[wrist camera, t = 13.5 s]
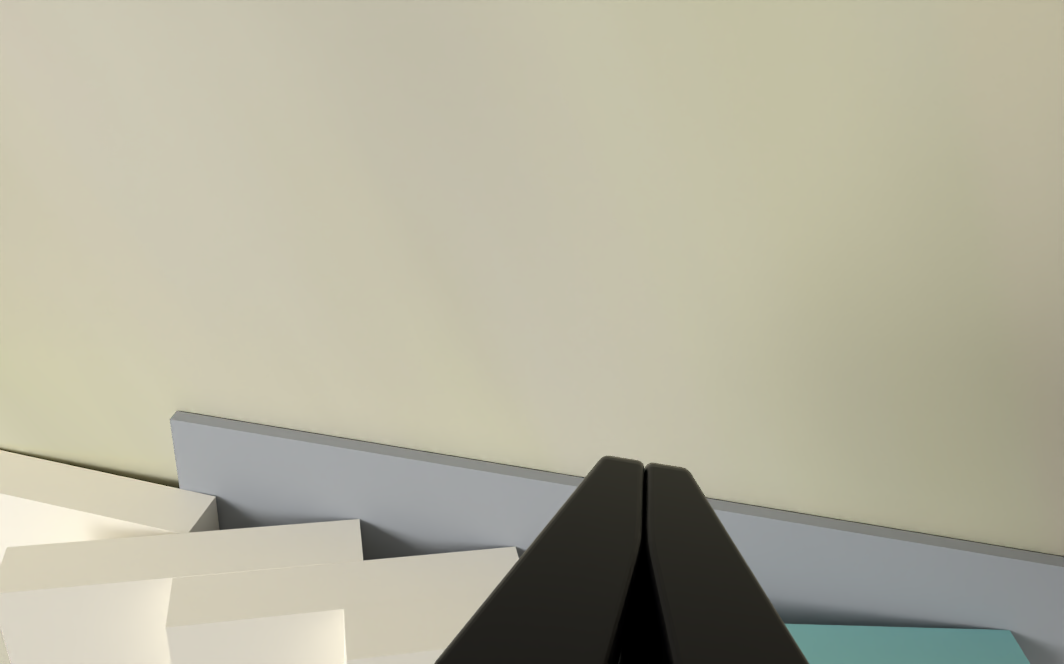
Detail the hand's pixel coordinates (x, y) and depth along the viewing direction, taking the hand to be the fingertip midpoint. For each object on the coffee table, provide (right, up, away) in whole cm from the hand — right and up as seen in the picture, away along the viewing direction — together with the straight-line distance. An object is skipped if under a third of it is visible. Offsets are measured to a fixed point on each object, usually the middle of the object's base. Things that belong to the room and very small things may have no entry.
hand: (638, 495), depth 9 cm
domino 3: (-2, -7, +17) cm, 18 cm away
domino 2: (-6, -6, +17) cm, 19 cm away
